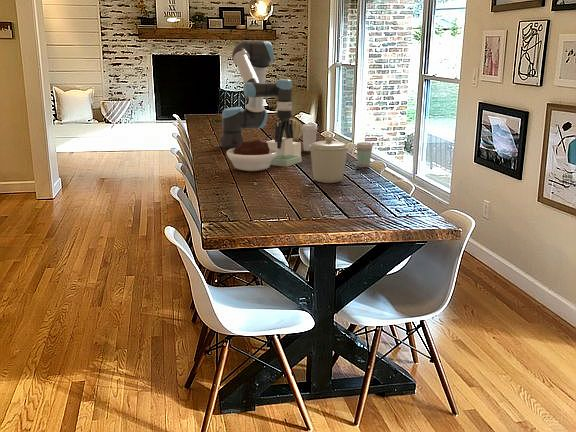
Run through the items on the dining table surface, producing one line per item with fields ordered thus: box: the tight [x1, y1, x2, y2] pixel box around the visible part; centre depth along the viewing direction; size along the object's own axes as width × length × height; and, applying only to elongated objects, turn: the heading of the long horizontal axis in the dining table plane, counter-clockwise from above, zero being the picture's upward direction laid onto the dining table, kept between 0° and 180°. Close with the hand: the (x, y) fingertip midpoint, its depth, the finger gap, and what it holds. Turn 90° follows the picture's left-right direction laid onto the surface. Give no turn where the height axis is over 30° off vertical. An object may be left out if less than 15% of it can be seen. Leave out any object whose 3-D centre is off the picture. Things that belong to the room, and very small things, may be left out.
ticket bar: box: [265, 139, 302, 156], centre depth 349 cm, size 18×8×8 cm, turn 60°
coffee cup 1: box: [301, 123, 319, 152], centre depth 368 cm, size 10×10×15 cm
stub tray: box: [270, 155, 303, 168], centre depth 331 cm, size 13×16×3 cm
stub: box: [275, 137, 294, 156], centre depth 329 cm, size 6×8×8 cm
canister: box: [309, 135, 349, 184], centre depth 287 cm, size 18×18×21 cm
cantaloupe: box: [282, 117, 303, 142], centre depth 400 cm, size 15×15×15 cm
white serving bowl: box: [226, 139, 277, 172], centre depth 311 cm, size 25×25×15 cm
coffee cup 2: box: [355, 142, 374, 168], centre depth 322 cm, size 8×8×12 cm
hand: (284, 153), depth 330 cm, fingers closed on stub, 8 cm apart
